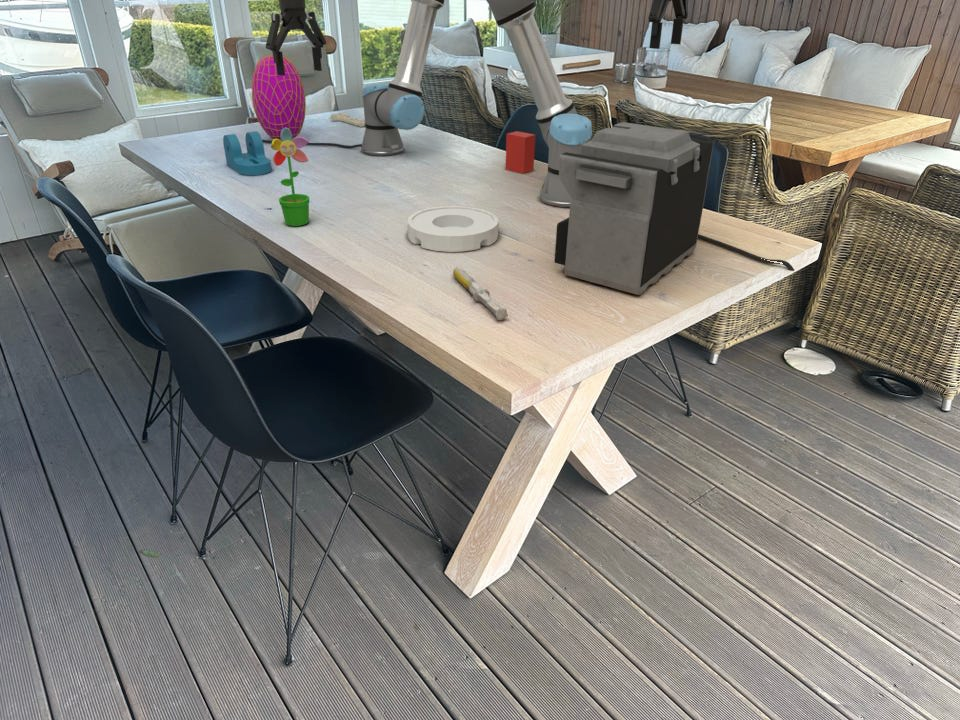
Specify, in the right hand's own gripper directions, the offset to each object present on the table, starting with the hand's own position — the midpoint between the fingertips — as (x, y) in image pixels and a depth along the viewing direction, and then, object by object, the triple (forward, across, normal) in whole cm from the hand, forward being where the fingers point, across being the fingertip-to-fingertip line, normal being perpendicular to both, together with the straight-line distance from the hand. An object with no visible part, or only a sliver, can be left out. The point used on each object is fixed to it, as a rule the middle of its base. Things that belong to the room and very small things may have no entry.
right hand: (665, 46), depth 195 cm
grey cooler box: (+40, +60, +25) cm, 77 cm away
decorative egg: (+38, +36, -136) cm, 146 cm away
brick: (+40, +10, -42) cm, 59 cm away
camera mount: (+38, +68, -111) cm, 136 cm away
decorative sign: (+39, -4, -144) cm, 149 cm away
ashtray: (+40, +73, -18) cm, 85 cm away
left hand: (+8, +59, -91) cm, 108 cm away
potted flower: (+39, +92, -56) cm, 115 cm away
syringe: (+40, +98, +10) cm, 106 cm away
